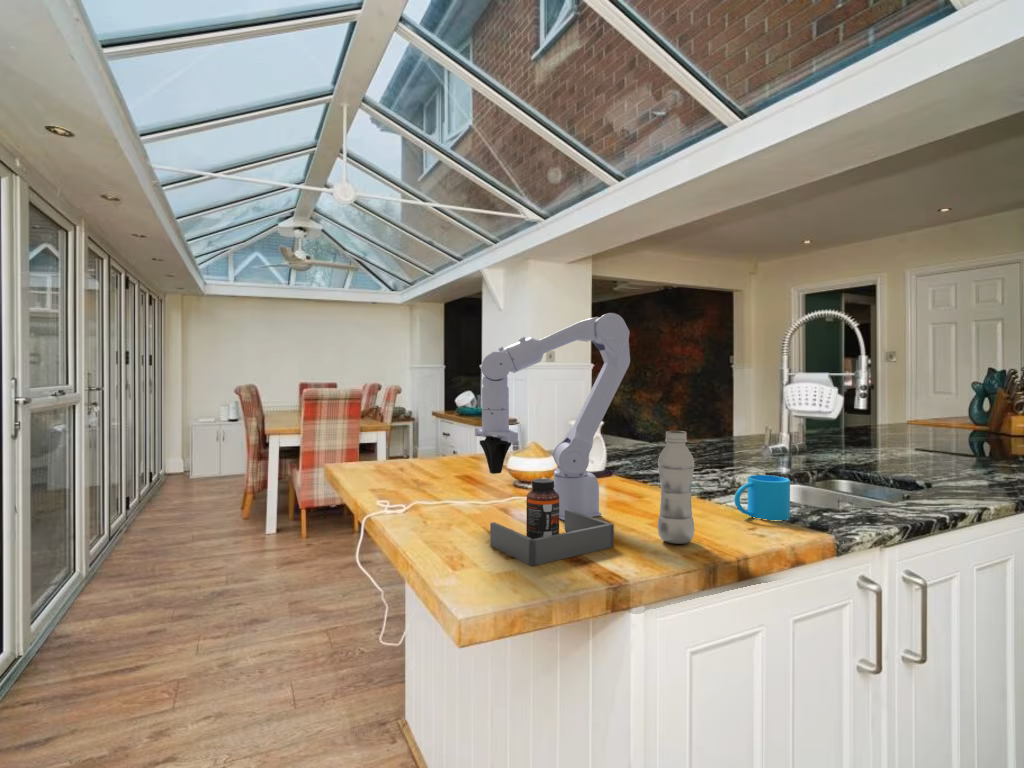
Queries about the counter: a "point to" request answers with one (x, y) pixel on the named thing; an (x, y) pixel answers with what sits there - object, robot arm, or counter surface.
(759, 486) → the mug
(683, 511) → the plastic bottle
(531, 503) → the supplement bottle
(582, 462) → the robot arm
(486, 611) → the counter surface
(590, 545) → the box
